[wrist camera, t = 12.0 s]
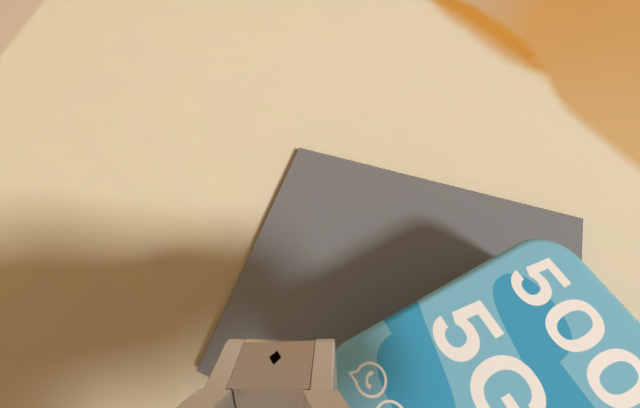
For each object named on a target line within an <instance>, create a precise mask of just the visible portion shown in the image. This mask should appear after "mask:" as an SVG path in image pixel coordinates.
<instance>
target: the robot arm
mask: <svg viewBox="0 0 640 408" xmlns="http://www.w3.org/2000/svg"><path fill="white" fill-rule="evenodd" d="M176 408H350V407H349V406H348V404H347V403H346V401H345V400H344V398H343V397H342V395H341V394H340V392H339V391H338V389H337V365H336V349H335V340H334V339H298V340H266V339H247V340H244V339H229V340H228V341H227V342H226V343H225V345H224V348H223V350H222V352H221V354H220V356H219V358H218V360H217V363H216V365H215V367H214V369H213V371H212V373H211V375H210V378H209V380H208V382H207V384H206V386H205V388H204V389H198V390H197V391H196V392H195V393H193V394H192V395H191V396H190V397H188V398H187V399H186V400H185V401H184V402H182V403H181V404H180V405H179V406H177V407H176Z"/></svg>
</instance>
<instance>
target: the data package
mask: <svg viewBox="0 0 640 408" xmlns="http://www.w3.org/2000/svg"><path fill="white" fill-rule="evenodd" d="M336 365H337V389H338V391H339V392H340V394H341V395H342V397H343V398H344V400H345V401H346V403H347V404H348V406H349V407H350V408H640V323H639V322H638V321H637V320H636V319H635V318H634V317H633V315H632V314H631V313H630V312H629V311H628V310H627V309H626V308H625V307H624V306H623V305H622V304H621V303H620V302H619V300H618V299H617V298H616V297H615V296H614V295H613V294H612V293H611V292H610V291H609V290H608V289H607V288H606V286H605V285H604V284H603V283H602V282H601V281H600V280H599V279H598V278H597V277H596V276H595V275H594V274H593V272H592V271H591V270H590V269H589V268H588V267H587V266H586V265H585V264H584V263H583V262H582V261H581V260H580V259H579V258H578V257H577V256H576V255H575V254H574V253H573V252H572V251H571V250H569V249H568V248H566V247H564V246H562V245H560V244H558V243H556V242H553V241H549V240H544V239H529V240H525V241H522V242H520V243H517V244H516V245H514V246H512V247H510V248H509V249H507V250H505V251H503V252H502V253H500V254H498V255H496V256H495V257H493V258H491V259H489V260H487V261H486V262H484V263H482V264H480V265H479V266H477V267H475V268H473V269H472V270H470V271H468V272H466V273H465V274H463V275H461V276H459V277H458V278H456V279H454V280H452V281H451V282H449V283H447V284H445V285H444V286H442V287H440V288H438V289H437V290H435V291H433V292H431V293H430V294H428V295H426V296H424V297H423V298H421V299H419V300H417V301H416V302H414V303H412V304H410V305H409V306H407V307H405V308H403V309H401V310H400V311H398V312H396V313H394V314H393V315H391V316H389V317H387V318H386V319H384V320H382V321H380V322H379V323H377V324H375V325H373V326H372V327H370V328H368V329H366V330H365V331H363V332H361V333H359V334H358V335H356V336H354V337H352V338H351V339H349V340H347V341H346V342H344V343H343V344H341V345H340V346H339V347H338V348H337V349H336Z"/></svg>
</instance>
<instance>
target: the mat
mask: <svg viewBox="0 0 640 408" xmlns="http://www.w3.org/2000/svg"><path fill="white" fill-rule="evenodd" d="M582 233H583V219H582V218H578V217H574V216H570V215H566V214H562V213H558V212H554V211H550V210H546V209H542V208H538V207H534V206H530V205H526V204H522V203H518V202H514V201H510V200H506V199H502V198H498V197H494V196H490V195H486V194H482V193H478V192H474V191H470V190H466V189H462V188H458V187H454V186H450V185H446V184H442V183H438V182H434V181H430V180H426V179H422V178H418V177H414V176H410V175H406V174H402V173H398V172H394V171H390V170H386V169H382V168H378V167H374V166H370V165H366V164H362V163H358V162H354V161H350V160H346V159H342V158H338V157H334V156H330V155H326V154H322V153H318V152H314V151H310V150H306V149H302V148H299V149H298V151H297V153H296V155H295V158H294V160H293V162H292V164H291V166H290V169H289V171H288V173H287V175H286V177H285V179H284V182H283V184H282V186H281V188H280V190H279V192H278V195H277V197H276V199H275V201H274V203H273V206H272V208H271V210H270V212H269V214H268V216H267V219H266V221H265V223H264V225H263V227H262V229H261V232H260V234H259V236H258V238H257V240H256V243H255V245H254V247H253V249H252V251H251V253H250V256H249V258H248V260H247V262H246V264H245V267H244V269H243V271H242V273H241V275H240V277H239V280H238V282H237V284H236V286H235V288H234V290H233V293H232V295H231V297H230V299H229V301H228V304H227V306H226V308H225V310H224V312H223V314H222V317H221V319H220V321H219V323H218V325H217V327H216V330H215V332H214V334H213V336H212V338H211V341H210V343H209V345H208V347H207V349H206V351H205V354H204V356H203V358H202V360H201V362H200V364H199V367H198V369H197V371H199V372H201V373H203V374H205V375H207V376H210V375H211V373H212V371H213V369H214V367H215V365H216V363H217V360H218V358H219V356H220V354H221V352H222V350H223V348H224V345H225V343H226V342H227V341H228V340H229V339H244V340H247V339H266V340H298V339H334V340H335V349H337V348H338V347H339V346H340V345H341V344H343V343H344V342H346V341H347V340H349V339H351V338H352V337H354V336H356V335H358V334H359V333H361V332H363V331H365V330H366V329H368V328H370V327H372V326H373V325H375V324H377V323H379V322H380V321H382V320H384V319H386V318H387V317H389V316H391V315H393V314H394V313H396V312H398V311H400V310H401V309H403V308H405V307H407V306H409V305H410V304H412V303H414V302H416V301H417V300H419V299H421V298H423V297H424V296H426V295H428V294H430V293H431V292H433V291H435V290H437V289H438V288H440V287H442V286H444V285H445V284H447V283H449V282H451V281H452V280H454V279H456V278H458V277H459V276H461V275H463V274H465V273H466V272H468V271H470V270H472V269H473V268H475V267H477V266H479V265H480V264H482V263H484V262H486V261H487V260H489V259H491V258H493V257H495V256H496V255H498V254H500V253H502V252H503V251H505V250H507V249H509V248H510V247H512V246H514V245H516V244H517V243H520V242H522V241H525V240H529V239H544V240H549V241H553V242H556V243H558V244H560V245H562V246H564V247H566V248H568V249H569V250H571V251H572V252H573V253H574V254H575V255H576V256H577V257H578V258H579V259H580V260H581V261H582Z"/></svg>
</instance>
